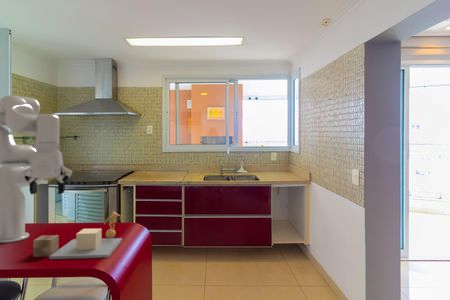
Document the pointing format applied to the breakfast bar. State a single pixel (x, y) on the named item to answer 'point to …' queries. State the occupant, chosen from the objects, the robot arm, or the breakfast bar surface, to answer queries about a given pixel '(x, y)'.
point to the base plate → (87, 253)
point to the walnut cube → (45, 245)
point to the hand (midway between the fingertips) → (47, 193)
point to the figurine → (111, 232)
